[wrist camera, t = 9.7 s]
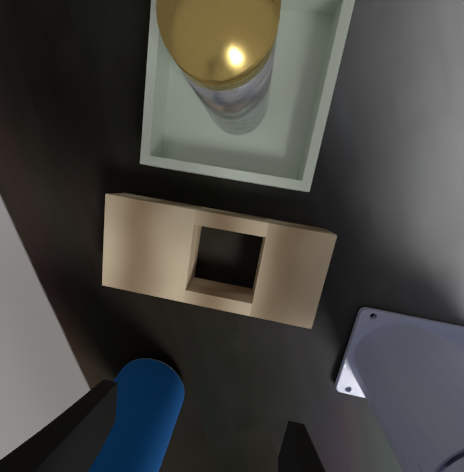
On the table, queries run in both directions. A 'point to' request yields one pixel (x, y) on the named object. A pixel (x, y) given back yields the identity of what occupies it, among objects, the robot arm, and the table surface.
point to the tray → (278, 111)
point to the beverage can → (141, 418)
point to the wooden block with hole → (186, 250)
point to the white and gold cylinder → (224, 55)
